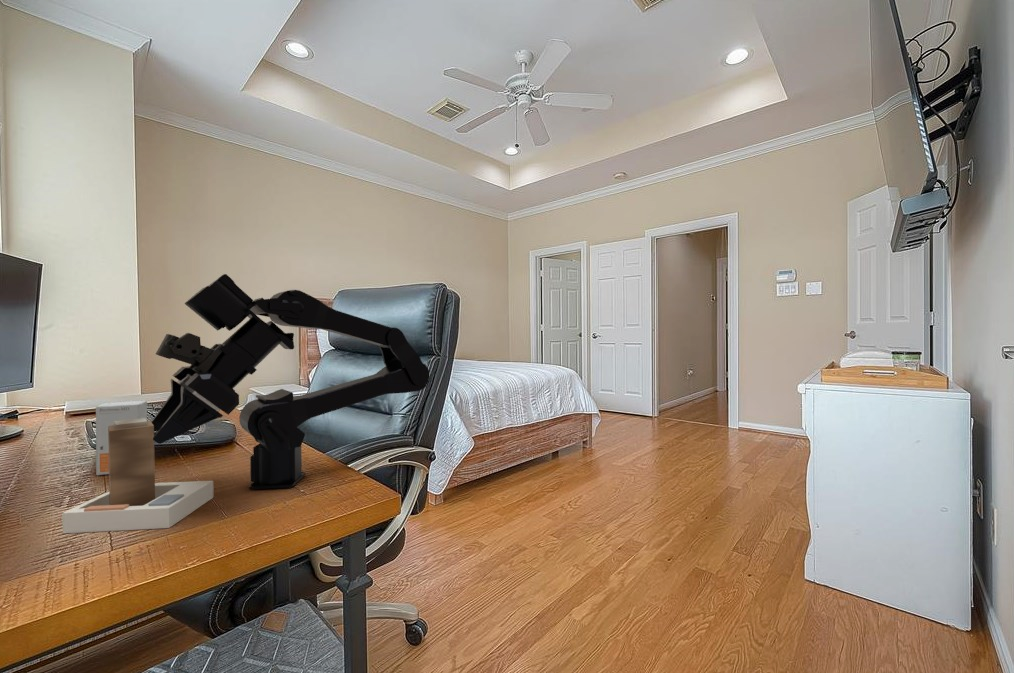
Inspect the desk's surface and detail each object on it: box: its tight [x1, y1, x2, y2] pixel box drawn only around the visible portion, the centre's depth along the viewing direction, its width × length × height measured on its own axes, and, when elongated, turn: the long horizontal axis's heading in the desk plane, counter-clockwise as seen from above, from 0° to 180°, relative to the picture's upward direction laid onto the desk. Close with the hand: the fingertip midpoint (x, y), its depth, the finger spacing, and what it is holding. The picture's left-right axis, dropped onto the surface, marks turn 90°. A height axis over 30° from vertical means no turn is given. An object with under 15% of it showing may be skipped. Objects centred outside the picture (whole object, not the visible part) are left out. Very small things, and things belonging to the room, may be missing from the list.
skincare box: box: [95, 400, 148, 476], centre depth 77 cm, size 6×4×12 cm
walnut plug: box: [108, 418, 156, 506], centre depth 58 cm, size 4×4×13 cm
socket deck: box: [61, 480, 214, 534], centre depth 59 cm, size 12×10×3 cm
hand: (153, 435), depth 60 cm, fingers open, 9 cm apart
